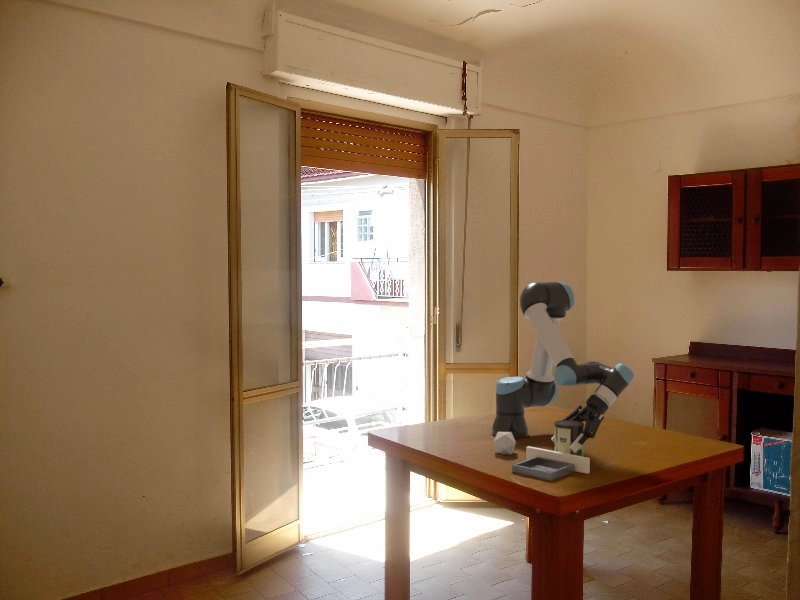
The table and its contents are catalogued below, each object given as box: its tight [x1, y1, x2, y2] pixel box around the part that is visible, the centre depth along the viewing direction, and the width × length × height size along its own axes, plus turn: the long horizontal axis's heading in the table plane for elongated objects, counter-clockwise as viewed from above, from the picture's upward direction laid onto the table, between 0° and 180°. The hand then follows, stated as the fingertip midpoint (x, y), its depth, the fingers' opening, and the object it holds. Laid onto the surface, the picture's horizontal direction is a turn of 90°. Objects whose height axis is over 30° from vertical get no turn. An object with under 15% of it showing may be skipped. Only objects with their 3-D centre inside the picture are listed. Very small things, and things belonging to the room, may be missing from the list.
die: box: [492, 432, 517, 455], centre depth 264 cm, size 8×9×10 cm
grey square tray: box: [511, 456, 576, 482], centre depth 240 cm, size 15×15×2 cm
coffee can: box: [553, 419, 585, 457], centre depth 252 cm, size 10×10×14 cm
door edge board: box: [525, 445, 591, 474], centre depth 246 cm, size 24×2×5 cm, turn 47°
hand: (562, 445), depth 251 cm, fingers open, 12 cm apart
